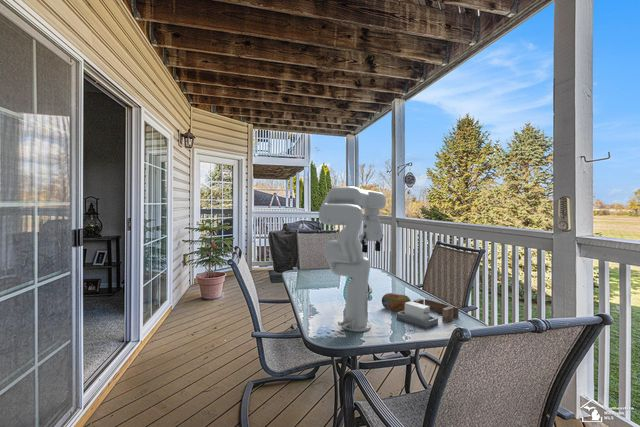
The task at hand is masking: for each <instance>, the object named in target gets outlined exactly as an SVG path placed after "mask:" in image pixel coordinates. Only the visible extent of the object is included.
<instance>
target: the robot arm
mask: <svg viewBox="0 0 640 427" xmlns="http://www.w3.org/2000/svg"><path fill="white" fill-rule="evenodd" d="M386 204H387V199H386V196H385V194H384V193H383V192H380V191H374V190H369V189H368V190H367V189H362V188H360V187H357V186H349V185H348V186H333V187H331V188H330V189H329V191H328V192H327V193H326V195H325V197H324V199H323V201H322V203H321V204H320V208H319V211H318V218H319V221H320V222H321V223H322V224H324V225H326V226H327V225H328V226H344V227H343V228H342V229H341V230H340V231H339V233H338V234H337V236H336V239H331V240H329V241H328V242H327V243H326V244H325V247H324V256H325V260H326V263H327V264H328V266H329V268H330V270H331V272H332V274H333V275H336V276H341V277H350V278H351V279H350V281H349V282H348V283H347V285H346V287H345V288H346V289H345V292H346V294H345V316H344V317H343V319H342V320H339V321H338V322H337V326H338V327H342V328H343V329H345V330H346V331H350V332H356V333H361V332H366V331H369V330H371V329H372V328H371V327H372V325H371V323H370V322H369V321H368V305H369V304H368V302H369V300H368V299H369V294H368V293H369V292H368V291H369V276H370V272H371V271H370V270H371V262H370V260H369V258H367V257H366V256H364V255H363V253H365V254H367V253H368V243H369V242H375V243H374V251H376V252H381V244H382V241H383V239H384V234H383V233H382V224H381V221H380V210H382V209H384V208H385V207H386ZM362 210H364V216H363V212H362ZM363 220H364V221H363ZM362 221H363V224H362ZM362 225H363V226H362ZM361 226H362V232H361V234H360V235H359V233H360V230H361ZM361 245H362V246H361Z"/></svg>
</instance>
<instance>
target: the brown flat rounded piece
mask: <svg viewBox="0 0 640 427" xmlns="http://www.w3.org/2000/svg"><path fill="white" fill-rule="evenodd" d="M410 301H412V300H411V298H410V297H409V296H408V295H406V294H399V293H393V292H389V293H386V294H384V295H383V296H382V297H381V304H382V306H383V308H385V310H387V311H394V312H401V311H404V310H405V303H407V302H410Z"/></svg>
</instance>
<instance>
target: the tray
mask: <svg viewBox="0 0 640 427" xmlns="http://www.w3.org/2000/svg"><path fill="white" fill-rule="evenodd" d="M396 320H398V321H401V322H403V323H407V324H409V325H412V326H415V327H418V328H420V329H424V330H428V329H431V328H433V327H435V326H438V325H439V318H438V317H436V316H433V315H431V314H429V321H426V322H425V321H422V320H419V319H416V318H413V317H410V316H407V315H405V310H404V311H397V312H396Z"/></svg>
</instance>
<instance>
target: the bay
mask: <svg viewBox="0 0 640 427" xmlns="http://www.w3.org/2000/svg"><path fill="white" fill-rule="evenodd" d="M412 302H416V303H419V304H423V305H426V306H430V311H431V312H434V313H435V312H436V313H439V314H442V315H441V316H442V322H443V323H446V324H447V323H449V322H451V321H454V318H455V319H460V318H459V313H460V312H459V310H460V308H459V307H458V306H454V305H450V304H447V303H443V302H440V301H436V300H433V299H429V298H425V299H423V298H417V299H413V301H412Z"/></svg>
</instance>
